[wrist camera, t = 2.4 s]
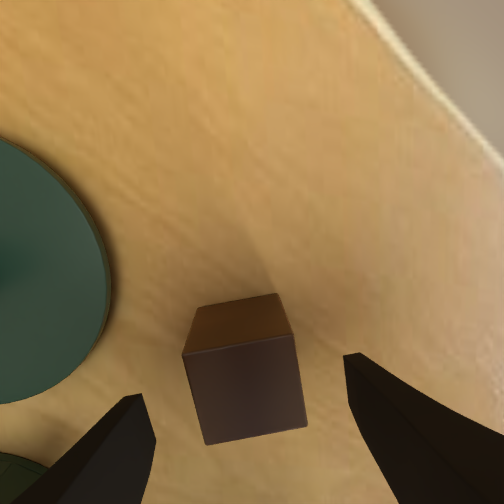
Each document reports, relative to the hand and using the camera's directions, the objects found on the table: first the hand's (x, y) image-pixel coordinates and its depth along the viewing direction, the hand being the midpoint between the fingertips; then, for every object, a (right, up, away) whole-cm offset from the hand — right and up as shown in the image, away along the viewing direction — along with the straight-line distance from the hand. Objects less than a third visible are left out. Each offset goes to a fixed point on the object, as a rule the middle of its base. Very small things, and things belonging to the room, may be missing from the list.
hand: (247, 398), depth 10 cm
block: (0, +1, +4) cm, 4 cm away
